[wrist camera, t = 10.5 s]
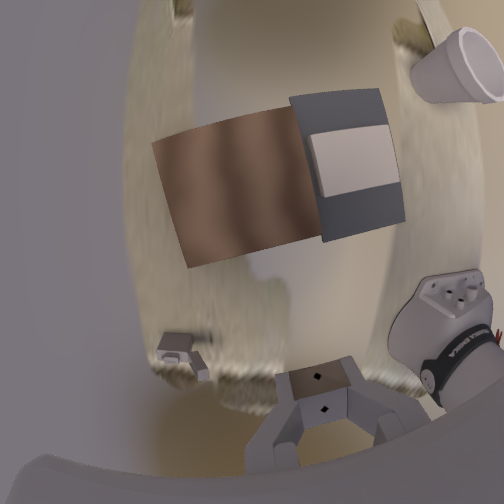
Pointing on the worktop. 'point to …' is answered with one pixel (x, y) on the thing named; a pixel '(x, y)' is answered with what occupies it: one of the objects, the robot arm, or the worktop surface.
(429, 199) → the worktop surface
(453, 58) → the foam cup
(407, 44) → the worktop surface
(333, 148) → the tile
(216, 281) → the worktop surface
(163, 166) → the plate
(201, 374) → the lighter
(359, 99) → the mat
